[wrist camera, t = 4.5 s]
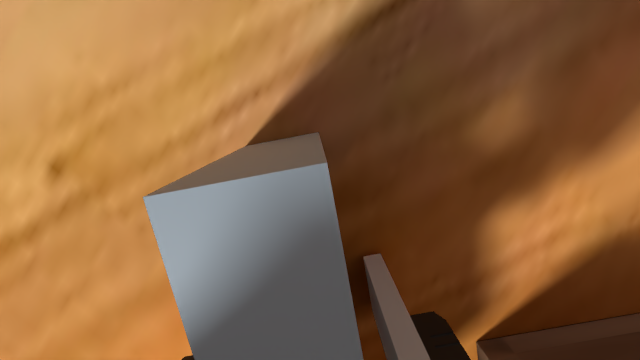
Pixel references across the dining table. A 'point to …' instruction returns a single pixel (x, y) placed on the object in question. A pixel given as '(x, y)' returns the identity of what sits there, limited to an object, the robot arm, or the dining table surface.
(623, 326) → the box
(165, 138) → the dining table surface
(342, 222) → the dining table surface
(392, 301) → the robot arm
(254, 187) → the door
